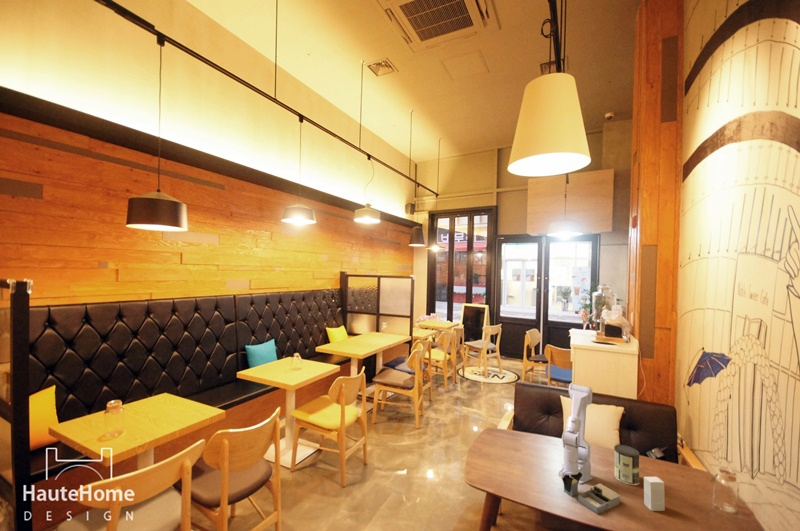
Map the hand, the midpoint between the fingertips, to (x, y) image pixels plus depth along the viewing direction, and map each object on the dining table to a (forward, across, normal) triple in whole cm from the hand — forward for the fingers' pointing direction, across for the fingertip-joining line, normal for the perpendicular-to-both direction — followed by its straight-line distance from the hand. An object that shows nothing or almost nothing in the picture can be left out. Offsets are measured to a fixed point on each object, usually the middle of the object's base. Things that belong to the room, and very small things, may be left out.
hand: (570, 489), depth 151 cm
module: (+2, 0, 0) cm, 2 cm away
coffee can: (+2, -35, +5) cm, 35 cm away
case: (+2, -5, +9) cm, 11 cm away
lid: (-1, -10, +9) cm, 14 cm away
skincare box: (+2, -24, +22) cm, 33 cm away
